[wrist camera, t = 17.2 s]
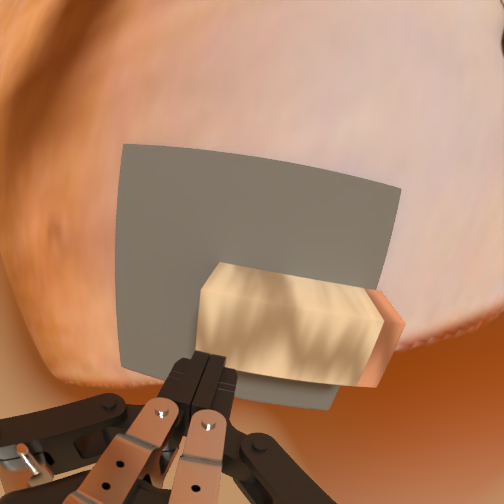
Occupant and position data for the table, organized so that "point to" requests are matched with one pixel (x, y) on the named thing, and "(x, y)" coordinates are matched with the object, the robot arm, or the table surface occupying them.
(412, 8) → the table surface
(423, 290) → the table surface
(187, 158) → the slate mat
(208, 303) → the birch block
